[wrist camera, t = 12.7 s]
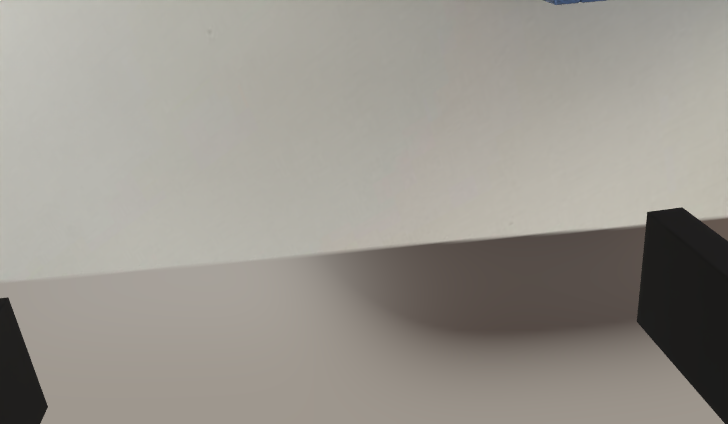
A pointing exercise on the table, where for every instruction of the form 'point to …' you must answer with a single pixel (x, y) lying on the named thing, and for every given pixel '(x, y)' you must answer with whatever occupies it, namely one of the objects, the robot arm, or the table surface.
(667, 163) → the table surface
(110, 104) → the table surface
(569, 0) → the bin
